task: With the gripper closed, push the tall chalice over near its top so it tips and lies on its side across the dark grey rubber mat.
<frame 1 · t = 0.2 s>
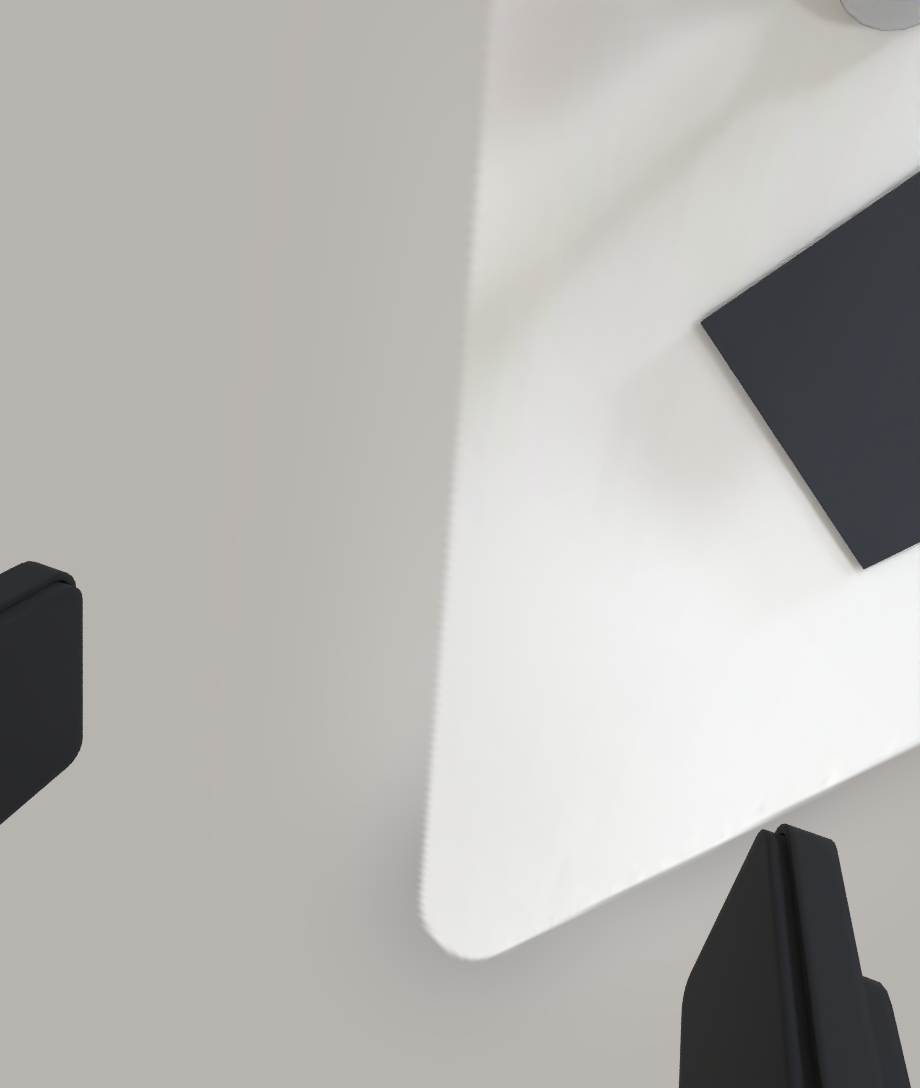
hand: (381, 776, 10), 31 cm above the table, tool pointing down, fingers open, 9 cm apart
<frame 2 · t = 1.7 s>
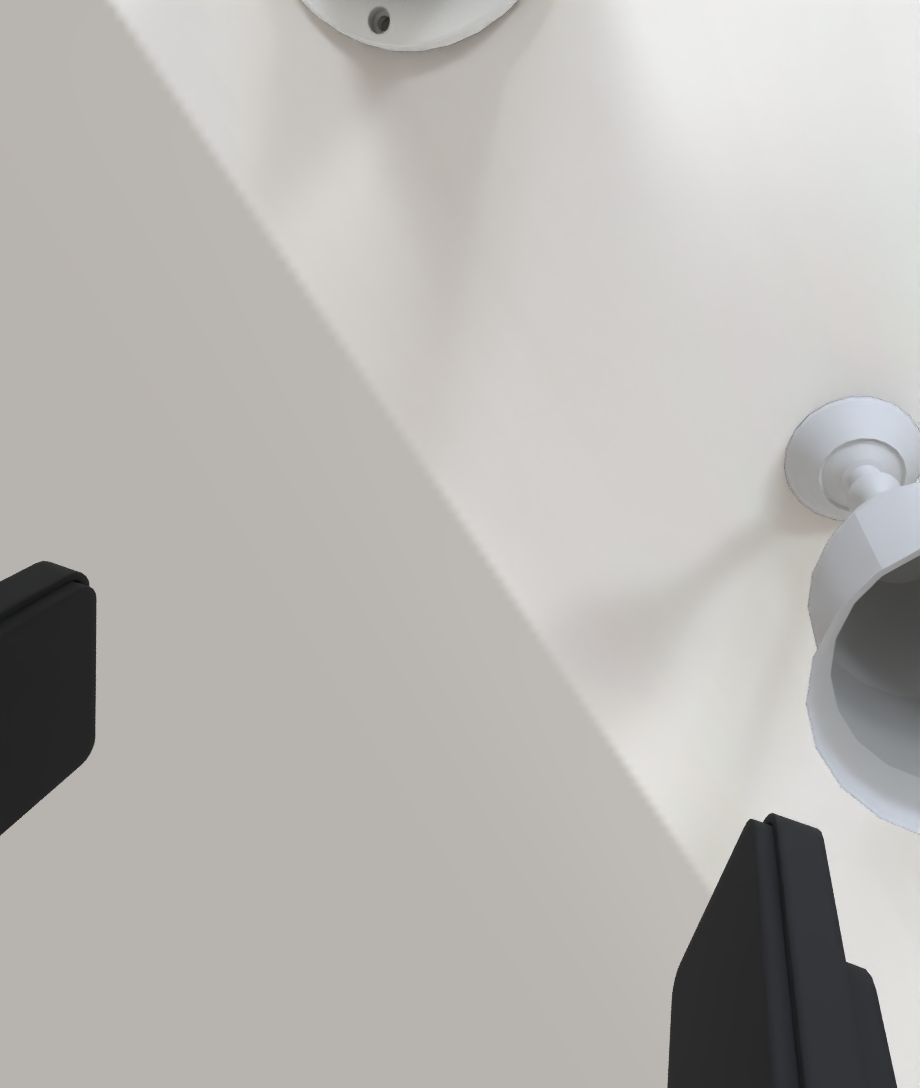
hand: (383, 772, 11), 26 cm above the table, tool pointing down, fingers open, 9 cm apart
chalice: (851, 458, 32), on the table
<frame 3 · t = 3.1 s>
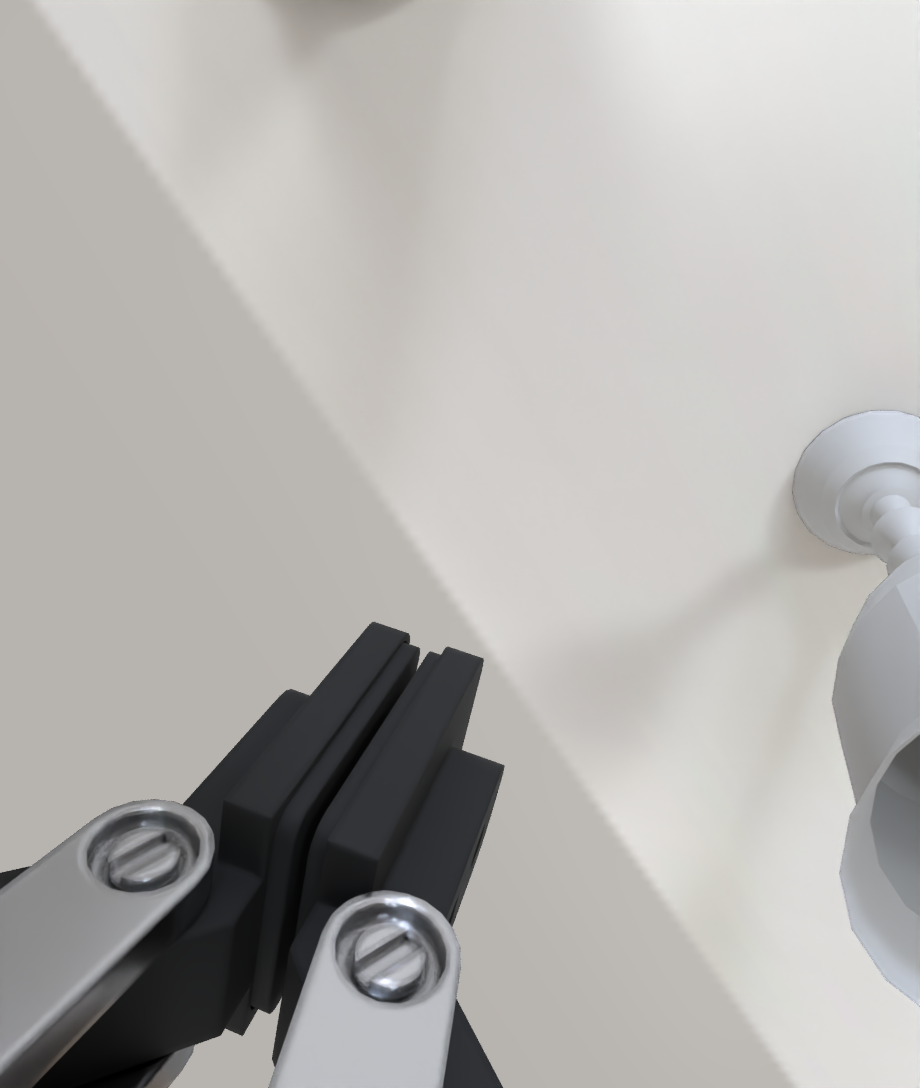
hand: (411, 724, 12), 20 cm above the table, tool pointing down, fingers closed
chalice: (872, 482, 27), on the table
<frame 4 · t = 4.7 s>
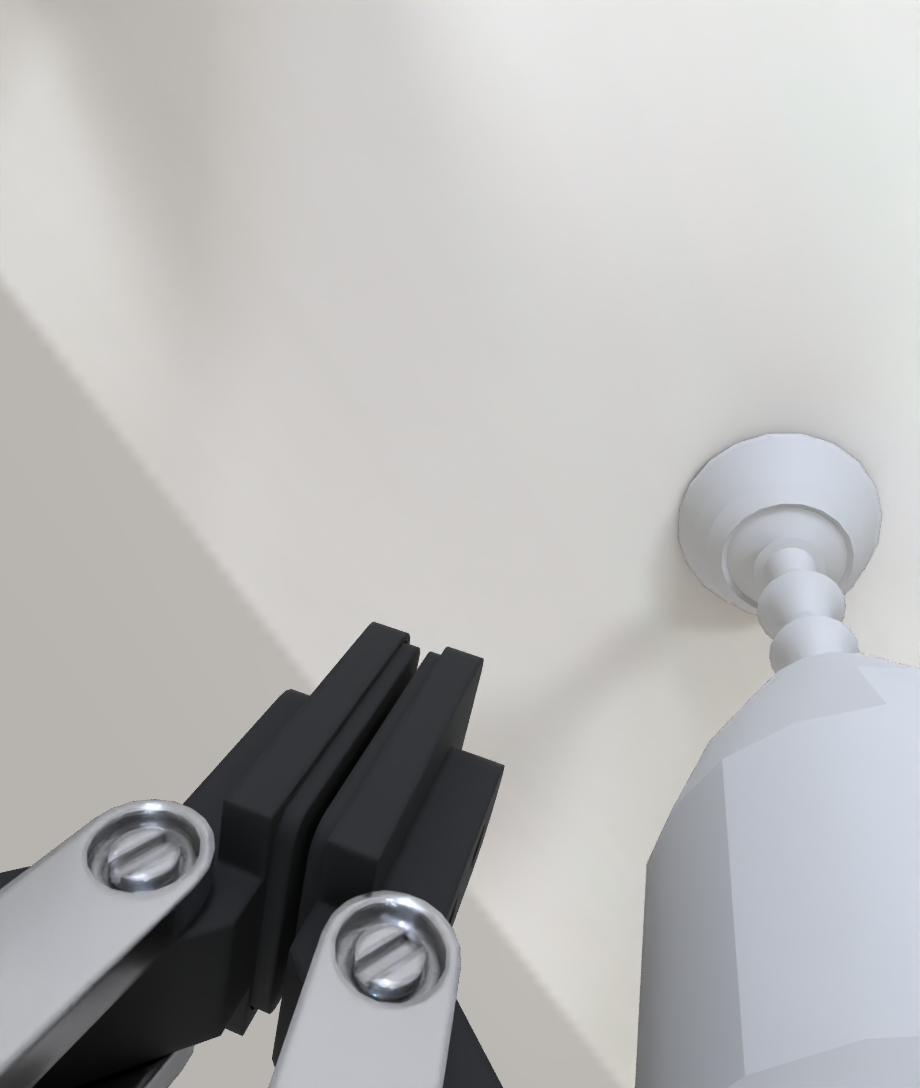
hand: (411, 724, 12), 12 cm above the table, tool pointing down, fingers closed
chalice: (775, 523, 22), on the table
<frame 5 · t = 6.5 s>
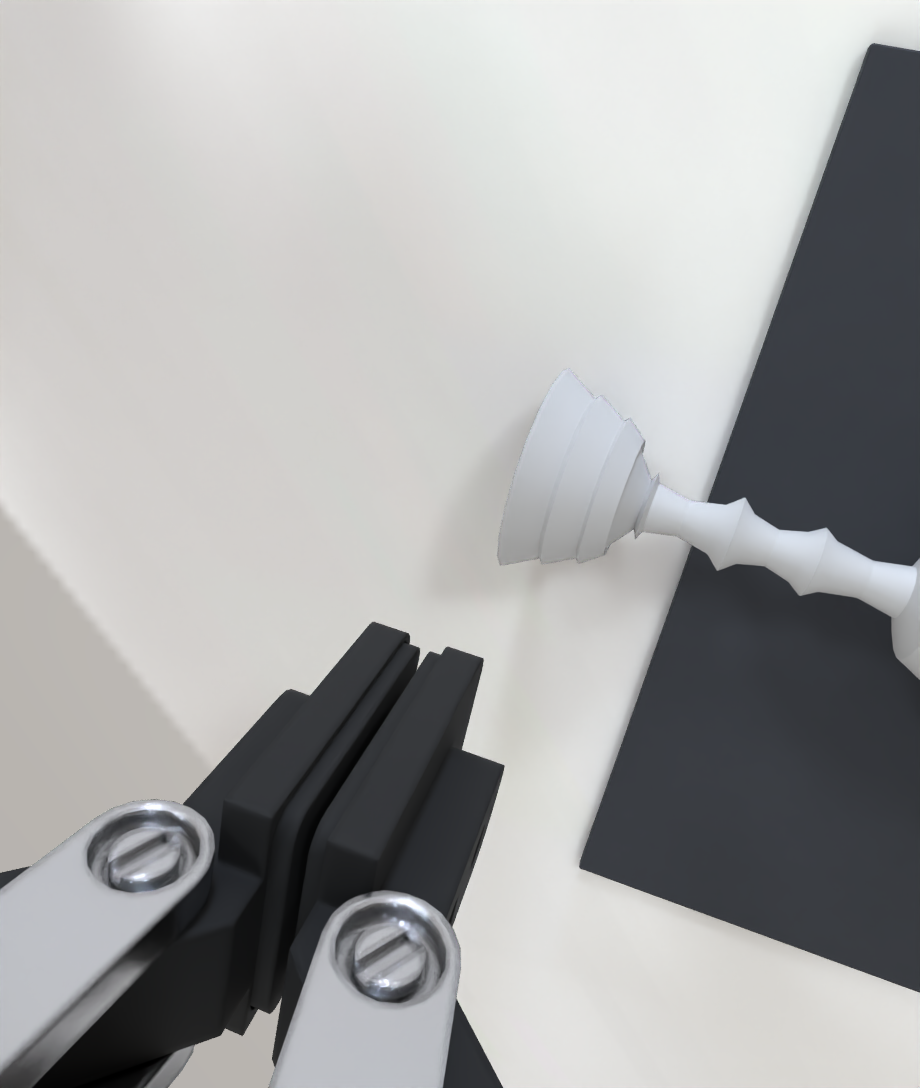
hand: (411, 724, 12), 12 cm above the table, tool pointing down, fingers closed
chalice: (529, 466, 20), point 2 cm above the table, touching mat
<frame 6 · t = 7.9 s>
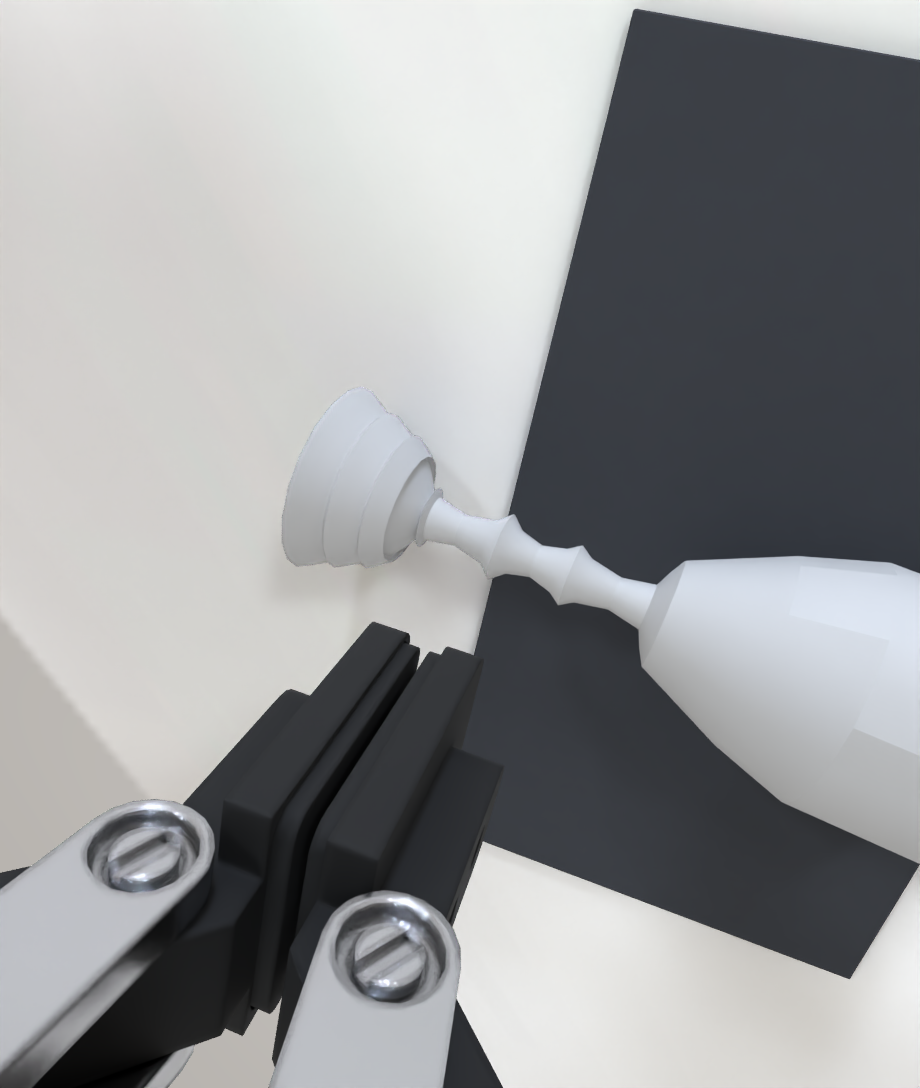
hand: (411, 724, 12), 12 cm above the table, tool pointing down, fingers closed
chalice: (328, 476, 21), point 2 cm above the table, touching mat
mat: (760, 575, 22), on the table
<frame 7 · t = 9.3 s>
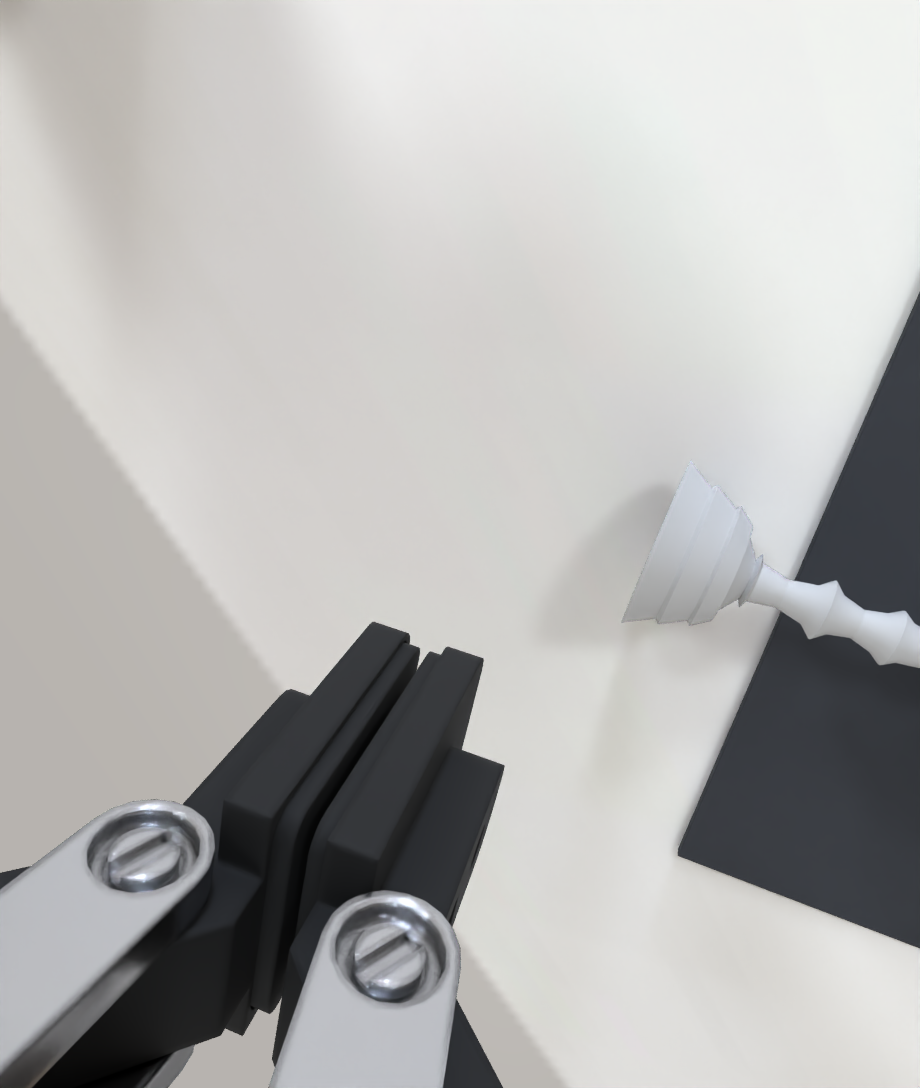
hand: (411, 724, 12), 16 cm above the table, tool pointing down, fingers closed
chalice: (649, 539, 23), point 2 cm above the table, touching mat
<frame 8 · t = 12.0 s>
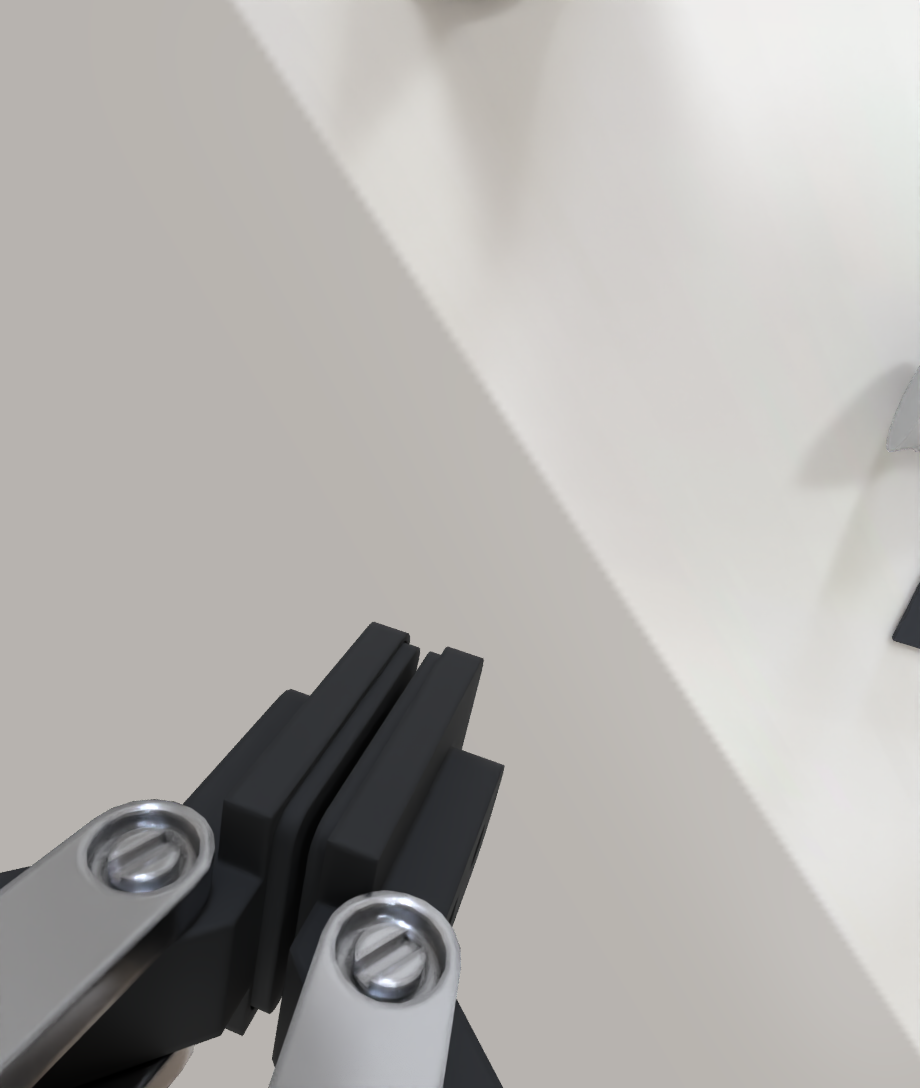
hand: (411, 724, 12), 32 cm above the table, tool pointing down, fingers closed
chalice: (911, 395, 35), point 2 cm above the table, touching mat
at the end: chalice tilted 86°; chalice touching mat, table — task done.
